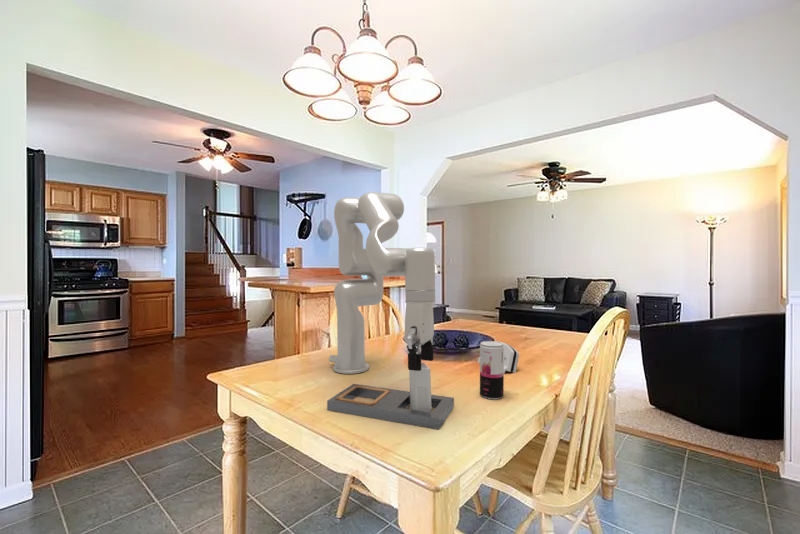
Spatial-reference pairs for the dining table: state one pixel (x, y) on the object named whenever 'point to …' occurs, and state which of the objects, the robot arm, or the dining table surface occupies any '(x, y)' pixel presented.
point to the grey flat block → (390, 406)
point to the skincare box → (420, 389)
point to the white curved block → (509, 358)
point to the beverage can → (491, 369)
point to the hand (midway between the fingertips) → (421, 364)
